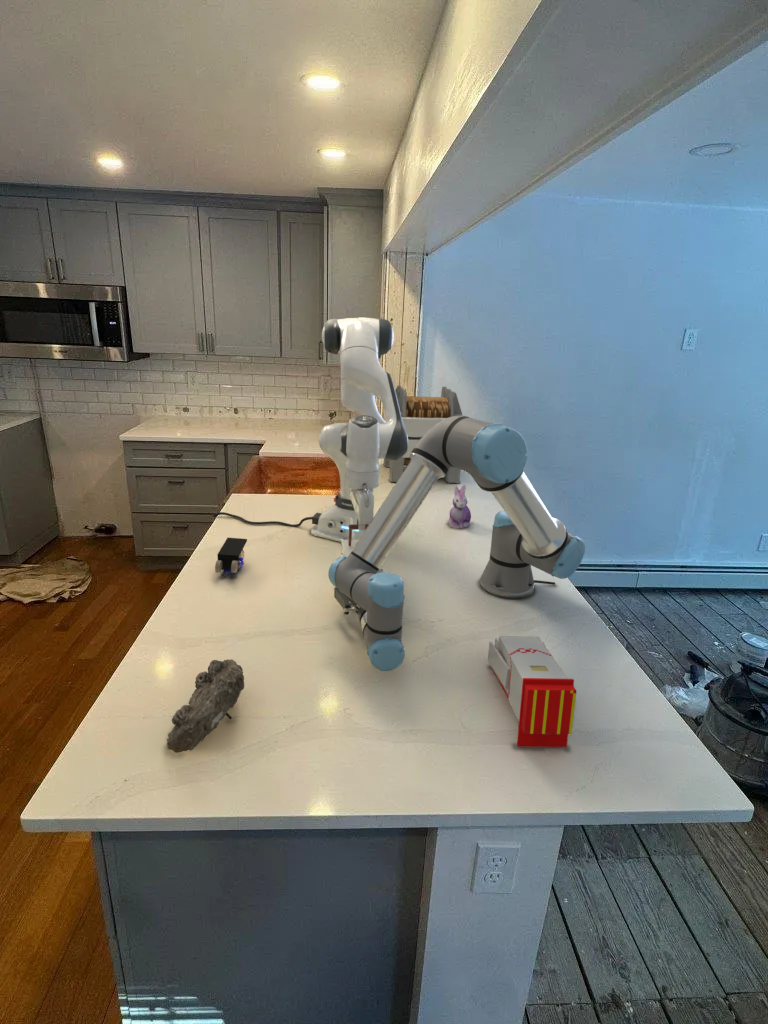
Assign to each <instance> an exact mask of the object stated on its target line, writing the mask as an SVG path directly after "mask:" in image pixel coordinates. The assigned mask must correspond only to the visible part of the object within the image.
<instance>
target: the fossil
mask: <svg viewBox="0 0 768 1024" xmlns="http://www.w3.org/2000/svg"><path fill="white" fill-rule="evenodd" d="M243 670H244V669H243V667H242V665H240V664H237V662H236V661H235V660H234V659H232V658H231V659H227V658H226V659H224V660H223V661H222V660H217V659H212V660H211V661H210V663H209V665H208V666H207V671H201V672H199V673H198V674H197V675H196V676H195V680H194V684H195V685H194V687H195V689H194V690H193V693H192V694H191V697H190V698H189V700H188V704H184V705H182V706H181V707H180V709H177V710H176V711H175V713H174V715H173V716H172V718H171V723H172V724H173V727H172V730H171V731H170V732H168V734H167V738H166V741H167V742H166V745H167V749H168V750H169V751H173V752H174V753H176V754H178V753H182V752H188V751H189V752H192V751H193V750H195V748H196V747H197V746H199V744H200V743H201V742H203V741H204V740H205V739H206V738H207V737H208V736H209V735H210V734H211V733H212V732H214V730H215V729H217V727H218V726H219V724H220V722H221V721H222V720H223V719H224V718H225V716H226V717H227V719H229V720H233V717H232V715H230V714H229V710H230V709H231V708H234V706H235V704H236V703H237V702H238V699H239V697H240V695H241V693H242V691H243V690H245V689H244V688H245V675H244V671H243Z"/></svg>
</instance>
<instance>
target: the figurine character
mask: <svg viewBox="0 0 768 1024" xmlns="http://www.w3.org/2000/svg"><path fill="white" fill-rule="evenodd" d="M247 542H248V538H240V537H226V539H225V541H224V543H223V544H222V546H221V547H220V549H219V551H218V552H217V560H216V562H215V564H214V572H215V573H221V577H222V578H224V577H225V576H226V574H227V573H230V574H231V573H232V574H231V578H234V577H235V575H236V573H237V572H239V571H240V567H242V566H243V565H244V564H245V562H244V558H245V551H244V547H245V546H246V544H247Z"/></svg>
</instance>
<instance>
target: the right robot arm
mask: <svg viewBox="0 0 768 1024" xmlns="http://www.w3.org/2000/svg"><path fill="white" fill-rule="evenodd" d="M527 453H528V446H527V443H526V440H525V438H524V436H523V435H522V434H521V433H520V432H519V431H517V430H516V429H514V428H512V427H509V426H507V425H505V424H501V423H494V422H491V421H485V420H481V419H478V418H473V417H469V416H467V415H462V416H452V417H449V418H446V419H444V420H442V421H440V422H439V423H437V424H436V425H435V426H433V427H432V428H431V429H430V430H429V431H428V432H427V433H426V434H425V435H424V436H423V437H422V438H421V439H420V440H419V442H418V443H417V444H416V446H415V447H414V449H413V450H412V452H411V453H410V459H411V461H410V463H409V464H408V466H407V465H406V467H405V468H404V469H403V473H402V475H401V476H400V478H399V479H398V481H397V482H395V484H394V486H393V487H392V489H390V492H389V493H388V495H387V496H386V497H385V499H384V501H383V502H382V504H381V506H380V507H379V508H378V510H377V511H376V513H375V514H374V515H373V519H372V521H371V522H370V524H369V525H368V527H367V528H366V530H365V531H364V533H363V534H362V536H361V537H360V539H359V541H358V542H357V544H356V545H355V547H354V548H353V550H352V552H351V553H350V554H349V556H348V557H346V556H342V557H341V556H339V557H338V558H336V559H335V560H333V561H332V563H331V564H330V566H329V567H328V568H329V569H328V580H329V582H330V583H331V584H332V585H333V586H334V588H333V597H334V599H335V600H336V601H337V603H338V604H339V606H340V607H341V608H342V610H343V615H345V616H347V615H349V614H350V613H352V612H353V613H354V612H355V614H356V615H357V616H358V620H359V624H360V628H361V631H362V635H363V639H364V643H365V646H366V647H365V648H366V651H367V653H366V654H367V657H368V659H369V661H370V663H371V665H372V666H373V668H375V669H376V670H378V671H381V672H390V671H393V670H396V669H397V668H400V666H401V665H402V663H403V662H404V660H405V658H406V657H405V655H406V653H405V646H404V643H403V642H402V635H403V616H404V615H403V614H404V604H405V603H404V602H405V597H406V596H405V583H404V579H403V578H402V577H401V576H400V575H398V574H396V573H391V572H387V571H383V572H381V573H377V572H378V570H379V568H380V567H381V565H382V566H383V564H384V562H385V560H386V559H387V558H388V556H389V554H390V553H391V551H392V550H393V549H394V546H396V544H397V542H398V540H400V538H401V536H402V535H403V533H404V531H405V530H406V528H407V527H408V526H409V524H410V522H411V521H412V519H413V518H414V517H415V514H416V513H417V512H418V510H419V508H420V507H421V506H422V504H423V502H424V501H425V499H426V498H427V497H428V495H429V494H430V492H431V491H432V489H433V487H434V486H435V484H436V483H437V482H438V479H442V478H444V477H445V475H446V474H447V472H448V471H449V469H451V468H452V467H455V468H458V469H461V471H464V472H466V473H468V474H469V475H470V476H471V477H472V479H473V480H474V482H475V483H476V484H477V486H478V487H479V488H480V489H481V490H482V491H484V492H488V493H491V494H492V495H493V497H494V498H495V500H496V501H497V502H498V504H499V505H500V507H501V508H502V510H500V511H498V512H497V513H496V514H495V516H494V519H493V524H492V532H491V542H490V544H491V545H490V551H489V559H488V562H487V563H486V565H485V568H484V569H483V571H482V573H481V575H480V586H481V588H482V589H483V590H485V591H486V592H487V593H489V594H491V595H494V596H497V597H500V598H504V599H505V598H506V599H524V598H527V597H529V596H531V595H532V594H533V592H534V590H535V584H544V585H553V586H555V585H556V582H555V581H547V580H546V581H545V580H538V579H537V580H536V579H534V575H533V569H532V567H534V568H535V569H538V570H540V571H542V572H544V573H546V574H548V575H550V576H551V577H555V578H558V579H561V580H565V579H567V578H570V577H571V576H572V575H573V574H574V573H575V572H576V571H577V570H578V568H579V567H580V565H581V563H582V561H583V559H584V555H585V552H586V544H585V541H584V540H583V539H582V538H581V537H579V536H578V535H573V534H572V533H570V532H569V531H568V529H567V528H566V526H565V525H564V523H563V522H562V521H561V520H559V518H556V517H552V515H551V514H550V512H549V510H548V509H547V507H546V505H545V504H544V502H543V501H542V499H541V498H540V496H539V494H538V493H537V491H536V489H535V488H534V486H533V485H532V483H531V481H530V479H529V478H528V477H527V474H526V473H525V469H526V468H525V467H526V465H527V462H528V456H527V455H526V454H527ZM351 603H352V604H354V605H352V604H351Z"/></svg>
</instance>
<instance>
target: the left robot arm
mask: <svg viewBox="0 0 768 1024" xmlns="http://www.w3.org/2000/svg"><path fill="white" fill-rule="evenodd" d="M394 341H395V332H394V328H393V326H392V322H390V321H389V320H388V319H385V318H381V317H380V318H379V317H378V318H374V317H373V318H372V317H363V316H362V317H361V316H358V317H346V318H336V317H335V318H330V319H328V320H326V321H325V322H324V325H323V328H322V330H321V342H322V344H323V346H324V350H325V351H326V352H327V353H329V354H331V355H338V354H339V365H340V403H341V404H342V406H343V407H344V408H345V409H346V410H348V411H349V412H352V413H353V414H356V415H355V416H352V417H350V419H349V421H348V422H336V423H330V424H326V425H323V427H322V429H321V430H320V432H319V435H318V445H319V447H320V450H321V451H322V452H323V454H325V455H326V456H328V457H329V458H330V459H331V460H332V462H333V463H334V464H335V466H336V467H337V470H338V474H339V483H340V484H339V485H340V488H339V489H340V490H339V491H338V492H337V494H336V495H335V496H334V497H333V502H334V504H333V505H331V506H329V507H328V508H326V509H325V510H323V512H316V513H315V514H314V515H313V516H307V517H305V518H302V519H300V522H299V523H297V524H290V523H287V522H283V521H279V520H277V521H276V520H275V521H274V520H271V521H251V520H247V519H245V518H243V517H241V516H239V515H236V514H232V513H229V512H224V511H221V512H216V513H215V514H214V515H213V516H212V517H213V518H216V517H217V516H220V515H221V516H222V515H224V516H227V517H231V518H234V519H235V518H236V519H239V520H240V521H242V522H243V523H245V524H249V525H282V526H285V527H293V528H298V527H301V525H303V523H304V522H305V521H308V520H309V521H310V520H311V524H312V525H313V526H312V528H311V530H310V533H311V536H315V537H319V538H323V539H326V540H330V541H336V542H339V543H341V541H342V540H349V524H358V529H359V530H352V539H351V540H359V539H360V537H361V536H362V534H363V533H364V531H365V524H370V522H371V521H372V519H373V518H374V511H375V510H374V509H375V496H374V489H376V488H379V485H380V464H379V460H384V459H385V460H394V461H397V460H398V459H400V458H401V457H402V456H403V455H405V453H406V452H407V449H408V436H407V433H406V429H405V426H404V423H403V420H402V416H401V412H400V408H399V404H398V399H397V395H396V391H395V390H396V388H395V387H396V386H395V384H394V381H393V377H392V376H391V374H390V373H389V372H388V371H386V370H385V368H384V367H383V366H382V365H381V363H380V359H381V357H382V356H384V355H386V354H388V352H390V351H391V349H392V346H393V345H394ZM376 398H377V399H379V400H380V402H381V404H382V407H383V412H384V416H385V419H384V418H383V417H382V415H381V414H380V411H379V409H378V406H377V401H376V400H377V399H376ZM386 421H387V422H386Z"/></svg>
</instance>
